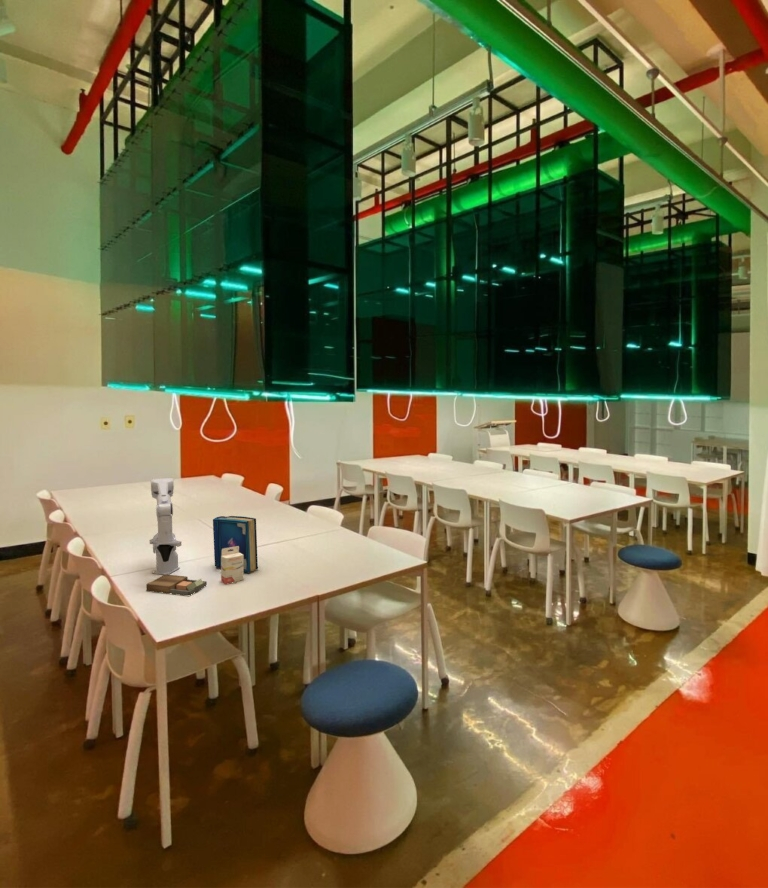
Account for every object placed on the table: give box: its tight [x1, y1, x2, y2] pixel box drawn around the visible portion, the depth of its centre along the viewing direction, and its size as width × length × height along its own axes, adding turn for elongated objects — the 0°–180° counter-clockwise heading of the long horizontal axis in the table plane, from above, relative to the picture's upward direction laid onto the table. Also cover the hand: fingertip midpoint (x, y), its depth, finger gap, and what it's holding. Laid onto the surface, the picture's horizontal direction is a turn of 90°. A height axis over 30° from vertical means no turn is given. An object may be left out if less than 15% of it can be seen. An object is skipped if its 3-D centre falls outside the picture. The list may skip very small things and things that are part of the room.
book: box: [212, 515, 259, 574], centre depth 231 cm, size 22×7×25 cm, turn 68°
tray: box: [170, 579, 207, 596], centre depth 206 cm, size 12×9×2 cm
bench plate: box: [145, 574, 188, 594], centre depth 208 cm, size 12×11×3 cm
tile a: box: [176, 581, 192, 591], centre depth 206 cm, size 4×4×2 cm
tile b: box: [187, 578, 204, 591], centre depth 205 cm, size 4×4×2 cm
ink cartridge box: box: [220, 546, 245, 585], centre depth 216 cm, size 9×5×15 cm, turn 131°
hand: (165, 561), depth 213 cm, fingers closed
